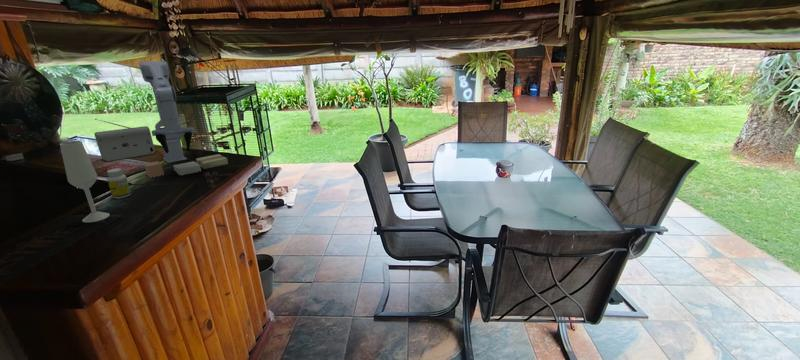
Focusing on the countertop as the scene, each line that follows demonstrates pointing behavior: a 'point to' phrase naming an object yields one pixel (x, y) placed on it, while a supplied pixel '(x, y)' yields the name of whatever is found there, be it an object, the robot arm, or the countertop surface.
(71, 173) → the champagne flute
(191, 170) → the grey block
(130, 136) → the stereo radio cassette player
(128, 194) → the supplement bottle
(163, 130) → the robot arm
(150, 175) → the terracotta cube
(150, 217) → the countertop surface
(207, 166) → the olive block
